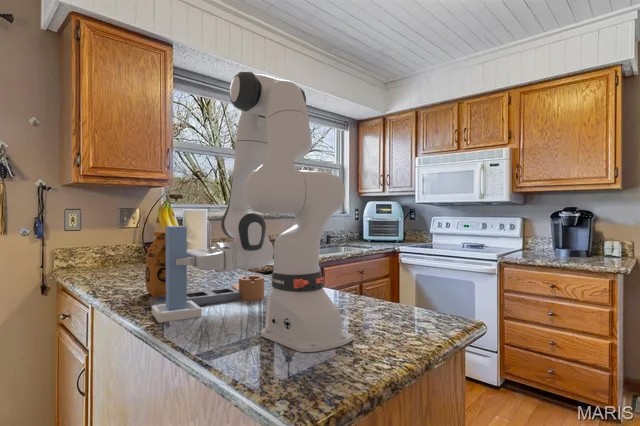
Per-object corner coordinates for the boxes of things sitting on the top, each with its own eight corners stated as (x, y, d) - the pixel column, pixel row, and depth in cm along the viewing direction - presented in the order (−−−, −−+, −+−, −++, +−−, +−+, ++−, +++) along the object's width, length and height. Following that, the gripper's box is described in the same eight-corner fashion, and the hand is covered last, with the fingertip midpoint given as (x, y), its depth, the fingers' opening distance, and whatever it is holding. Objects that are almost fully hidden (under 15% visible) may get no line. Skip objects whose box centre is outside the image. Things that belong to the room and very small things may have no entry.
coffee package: (148, 300, 119) (148, 232, 119) (143, 293, 129) (143, 231, 129) (180, 296, 124) (180, 232, 124) (173, 289, 135) (173, 230, 135)
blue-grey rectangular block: (186, 308, 101) (186, 226, 101) (169, 311, 99) (169, 226, 99) (182, 305, 105) (182, 225, 105) (165, 307, 103) (165, 226, 102)
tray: (201, 316, 100) (201, 308, 100) (158, 322, 94) (158, 314, 94) (191, 307, 109) (191, 300, 109) (151, 313, 103) (151, 305, 103)
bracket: (267, 299, 120) (267, 278, 120) (242, 302, 117) (242, 280, 117) (252, 289, 136) (252, 270, 136) (230, 291, 133) (230, 272, 133)
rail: (240, 299, 119) (240, 292, 119) (154, 311, 105) (154, 303, 105) (230, 294, 127) (230, 287, 127) (149, 305, 112) (149, 297, 112)
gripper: (210, 243, 118) (165, 246, 110) (233, 249, 101) (181, 252, 93) (210, 263, 118) (165, 266, 110) (233, 272, 101) (181, 277, 93)
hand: (172, 260), depth 101 cm, fingers closed on blue-grey rectangular block, 5 cm apart
